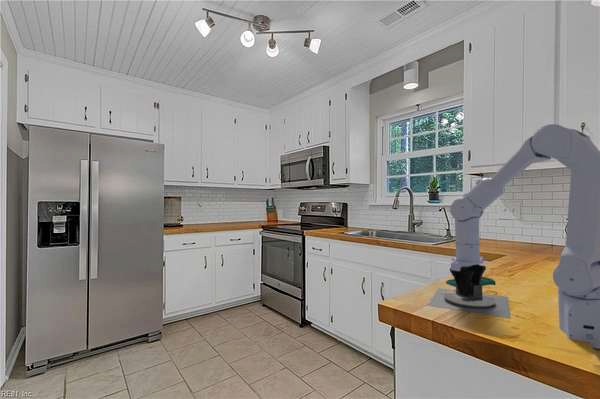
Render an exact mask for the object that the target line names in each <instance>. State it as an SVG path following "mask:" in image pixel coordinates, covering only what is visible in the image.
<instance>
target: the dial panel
mask: <svg viewBox="0 0 600 399" xmlns="http://www.w3.org/2000/svg"><path fill="white" fill-rule="evenodd" d="M452 290H453V289H447V288H439V287H438V288H437V289H436V291H435V292H434V294H433V296H432V297H431V299H430V300H429V301H428V303H427V306H428V307H434V308H435V307H436V308H441V309H446V310H447V309H448V310H453V311H454V310H455V311H460V312H467V313H473V314H479V315H485V316H492V317H498V318H503V319H510V320H511V319H512V318H511V310H510V301H509V296H503V295H497V294H495V295H494V294H487V293H486V294H487V295H490V296H492V297H493V298H494V299H495V305H494V306H492V307H488V308H472V307H465V306H460V305H456V304H453V303H450V302H448V301H447V300H445V298H444V293H445V292H447V291H452Z"/></svg>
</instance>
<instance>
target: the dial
mask: <svg viewBox="0 0 600 399" xmlns="http://www.w3.org/2000/svg"><path fill="white" fill-rule="evenodd" d="M451 290H452V291H447V292H445V293H444V298H445V300H447V301H448V302H450V303H453V304H456V305H460V306H465V307H472V308H488V307H492V306H494V305H495V299H494V298H493V297H492V296H490V295H491V294H489V295H487V293H483V285H481V284H478V283H475V282H473V281H471V284H470V293H469V296H463V295H460V294H459V291H458V287H457V284H456V286H455V289H451Z"/></svg>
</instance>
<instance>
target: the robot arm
mask: <svg viewBox="0 0 600 399" xmlns="http://www.w3.org/2000/svg"><path fill="white" fill-rule="evenodd" d="M552 159H554V160H557V162H559V163H561V164H562V165H563V166H565V167H566V168H568V169H569V170H570V182H569V195H568V206H567V207H568V210H567V221H566V222H567V223H566V236H565V245H564V246H565V247H564V248H563V250H562V252H561V255H559V256H560V257H559V263H558V265H557V266H556V267H555V268H554V271H553V273H552V279H553V282H554V283H555V285H556V287H557V292H558V295H557V296H558V297H557V298H558V301H557V302H558V326H559V327H558V328H559V330H560V331H562V332H563V333H564V334H565V335H566V337H567V339H569V340H574V341H580V342H584V343H585V342H586V343H589V344H590V345H591V347H592V348H593V349H598V350H600V150H599V149H598V148H597V146H596V145H595V143H594V142H593V141H592V140H591V137H590V136H589V135H587V134H586V133H583V132H582V131H579V130H578V129H575V128H568V127H565V126H562V125H560V124H556V123H555V124H554V123H553V124H551V123H550V124H546V125H544V126H542V127H540V128H539V129H537V130H536V131H535V132H534V134H533V135H531V136H529V137H528V138H526V140H525V141H524V142H523V144H522V145H521V147H519V149H518V150H517V151H515V153H513V155H512V156H511V157H510V158H508V160H507V161H506V162H505V163H504V164H503V165H502V166H501V167H500V168H499V169H498V170H497V171H496V172H495V173H494V175H493V176H491V177H484V178H482V179H478V180H477V181H476V182H475V186H474V187H473V188H471V190H470V191H468V192H467V193H464V194H463V196H462V197H463V198H457V199H455V200H453V202H452V204H451V205H450V208H449V210H450V211H449V212H450V214H451V217H452V218H453V219H454V234H455V235H454V236H455V240H454V241H455V256H454V257H452V258H451V261H453V262H450V268H449V273H451V275H452V277H453V279H455V281H456V284H457V287H458V291H459V294H460V295H463V296H469V293H470V284H471V281H473V282H475V283H478V284H480V280H481V277H483V274H484V273H485V271H486V269H487V266H485V265H482V264H484V256H481V250H480V249H481V248H480V247H481V246H480V219H481V217H482V216H483V214H484V212H485V209H487V208H488V207H489V206H490V205H491V204H493V202H495V201H496V200H497V199H498V198H500V197H501V196H502V195H503V194H504V186H506V185H507V184H508V183H509V182H511V181H512V180H513V179H514V178H516V177H517V176H518V175H520V174H521V173H522V172H523V171H525V170H526V169H527V168H528V167H530V166H531V165H532V164H534V163H540V162H544V161H550V160H552Z"/></svg>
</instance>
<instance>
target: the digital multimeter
mask: <svg viewBox="0 0 600 399" xmlns="http://www.w3.org/2000/svg"><path fill="white" fill-rule="evenodd" d="M445 283H446V284H447V285H450V286H452V287H456V281H455V279H454V278H452V279H448V280H446V281H445ZM480 284H481V285H482V286H488V285H491V286H496V280H495V279H493V278H490V277H485V276H482V277H481V280H480Z"/></svg>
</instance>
